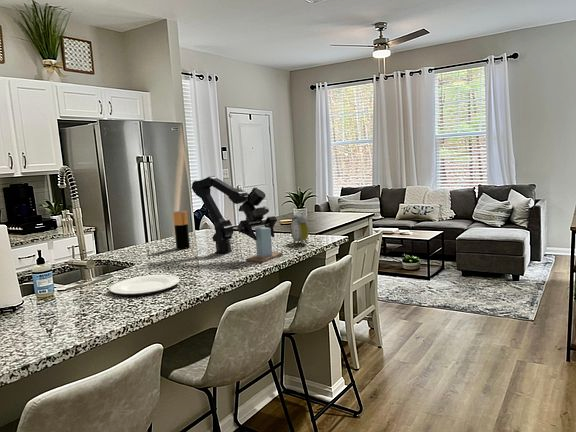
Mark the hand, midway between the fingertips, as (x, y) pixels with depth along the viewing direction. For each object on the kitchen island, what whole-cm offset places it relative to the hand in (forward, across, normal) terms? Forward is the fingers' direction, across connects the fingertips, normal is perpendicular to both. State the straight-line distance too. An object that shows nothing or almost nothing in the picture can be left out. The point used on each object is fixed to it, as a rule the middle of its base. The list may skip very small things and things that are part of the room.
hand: (265, 238), depth 204 cm
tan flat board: (+6, 0, +8) cm, 9 cm away
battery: (-34, -16, +47) cm, 60 cm away
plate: (+11, -57, +3) cm, 58 cm away
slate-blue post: (+5, 0, +7) cm, 8 cm away
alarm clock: (-5, +33, +19) cm, 38 cm away
